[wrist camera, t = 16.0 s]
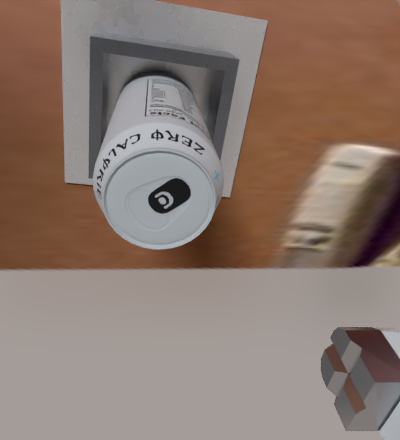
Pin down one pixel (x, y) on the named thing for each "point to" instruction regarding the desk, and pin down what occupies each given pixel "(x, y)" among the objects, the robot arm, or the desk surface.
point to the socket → (154, 61)
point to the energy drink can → (157, 165)
